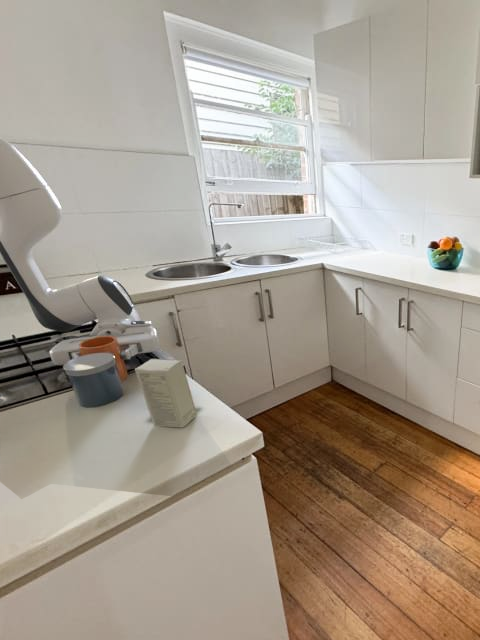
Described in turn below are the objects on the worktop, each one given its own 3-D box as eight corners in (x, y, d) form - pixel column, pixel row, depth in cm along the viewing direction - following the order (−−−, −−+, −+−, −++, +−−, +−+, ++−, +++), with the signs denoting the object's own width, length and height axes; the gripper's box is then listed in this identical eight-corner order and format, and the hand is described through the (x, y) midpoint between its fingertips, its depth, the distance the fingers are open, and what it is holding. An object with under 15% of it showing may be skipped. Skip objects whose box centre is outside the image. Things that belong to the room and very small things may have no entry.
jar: (69, 401, 77) (54, 364, 74) (112, 384, 84) (101, 349, 81) (90, 412, 74) (76, 374, 71) (133, 393, 81) (122, 358, 77)
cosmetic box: (197, 415, 74) (184, 359, 69) (182, 429, 70) (167, 371, 65) (167, 412, 75) (152, 357, 70) (150, 426, 71) (133, 368, 66)
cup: (85, 380, 85) (72, 344, 81) (117, 368, 90) (106, 334, 87) (101, 388, 82) (88, 350, 79) (134, 375, 88) (123, 339, 84)
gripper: (55, 332, 89) (35, 355, 78) (158, 320, 98) (153, 339, 87) (64, 356, 92) (46, 382, 80) (164, 342, 100) (159, 364, 89)
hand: (102, 360), depth 84 cm, fingers closed on cup, 7 cm apart
